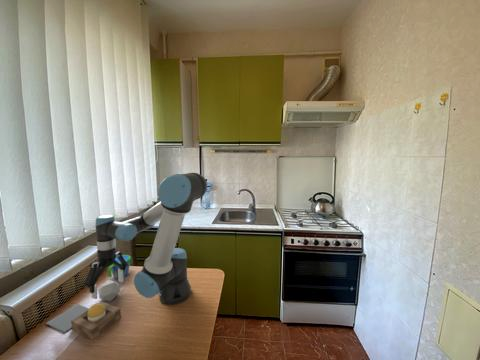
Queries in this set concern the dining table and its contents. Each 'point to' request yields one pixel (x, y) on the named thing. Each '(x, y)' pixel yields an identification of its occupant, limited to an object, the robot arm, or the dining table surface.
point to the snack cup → (115, 268)
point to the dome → (96, 312)
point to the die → (109, 290)
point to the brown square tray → (94, 329)
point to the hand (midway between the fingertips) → (108, 289)
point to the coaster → (67, 318)
